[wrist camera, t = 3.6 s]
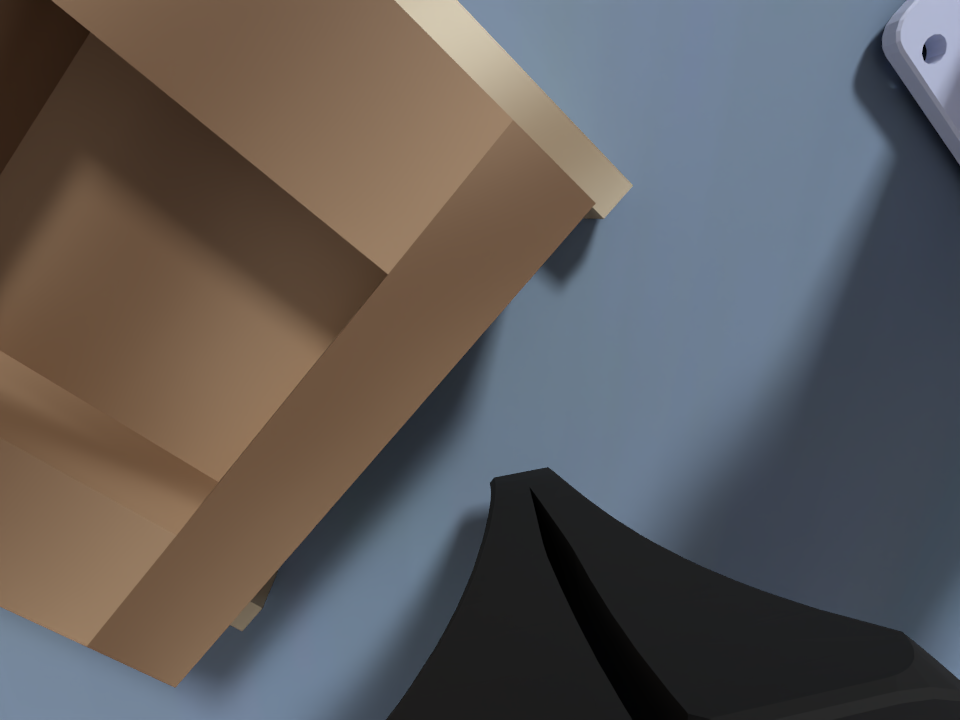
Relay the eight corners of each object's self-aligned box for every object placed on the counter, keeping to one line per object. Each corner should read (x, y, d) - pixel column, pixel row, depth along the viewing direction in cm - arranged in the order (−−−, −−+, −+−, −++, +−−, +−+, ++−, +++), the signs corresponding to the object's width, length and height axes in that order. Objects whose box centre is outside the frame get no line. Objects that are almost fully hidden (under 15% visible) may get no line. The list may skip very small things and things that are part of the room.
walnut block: (531, 208, 10) (595, 203, 6) (257, 534, 12) (176, 687, 8) (189, -119, 8) (-24, -422, 4) (-94, 328, 10) (-441, 402, 6)
